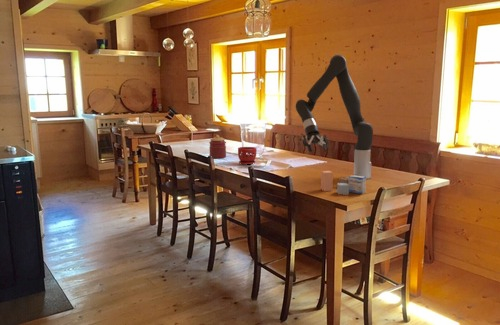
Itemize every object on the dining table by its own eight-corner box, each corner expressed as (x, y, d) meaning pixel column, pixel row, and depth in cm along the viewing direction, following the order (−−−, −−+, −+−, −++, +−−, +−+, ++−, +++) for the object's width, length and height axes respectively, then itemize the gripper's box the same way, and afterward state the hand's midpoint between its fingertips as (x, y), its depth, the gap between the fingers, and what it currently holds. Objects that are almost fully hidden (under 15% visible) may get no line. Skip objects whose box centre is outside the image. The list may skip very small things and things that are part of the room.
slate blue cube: (346, 192, 225) (346, 183, 224) (348, 194, 220) (348, 185, 219) (336, 192, 225) (337, 183, 224) (338, 194, 220) (339, 185, 219)
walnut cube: (346, 185, 239) (347, 177, 238) (352, 187, 235) (352, 178, 234) (339, 186, 237) (339, 177, 236) (345, 188, 233) (345, 179, 232)
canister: (208, 156, 338) (207, 134, 335) (224, 155, 342) (223, 133, 339) (211, 159, 326) (211, 136, 323) (228, 158, 330) (227, 135, 326)
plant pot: (256, 165, 299) (256, 148, 296) (237, 165, 299) (237, 148, 297) (256, 162, 311) (256, 146, 309) (238, 162, 312) (238, 146, 310)
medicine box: (347, 192, 225) (348, 176, 223) (351, 190, 228) (351, 174, 227) (362, 194, 220) (363, 177, 219) (365, 192, 224) (366, 176, 222)
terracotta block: (328, 188, 232) (329, 170, 231) (332, 190, 228) (332, 172, 226) (320, 189, 231) (321, 171, 229) (324, 191, 227) (324, 172, 225)
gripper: (301, 124, 241) (308, 147, 232) (324, 124, 245) (332, 146, 236) (297, 132, 247) (304, 155, 238) (320, 132, 251) (327, 154, 242)
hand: (318, 151), depth 237 cm, fingers open, 8 cm apart
